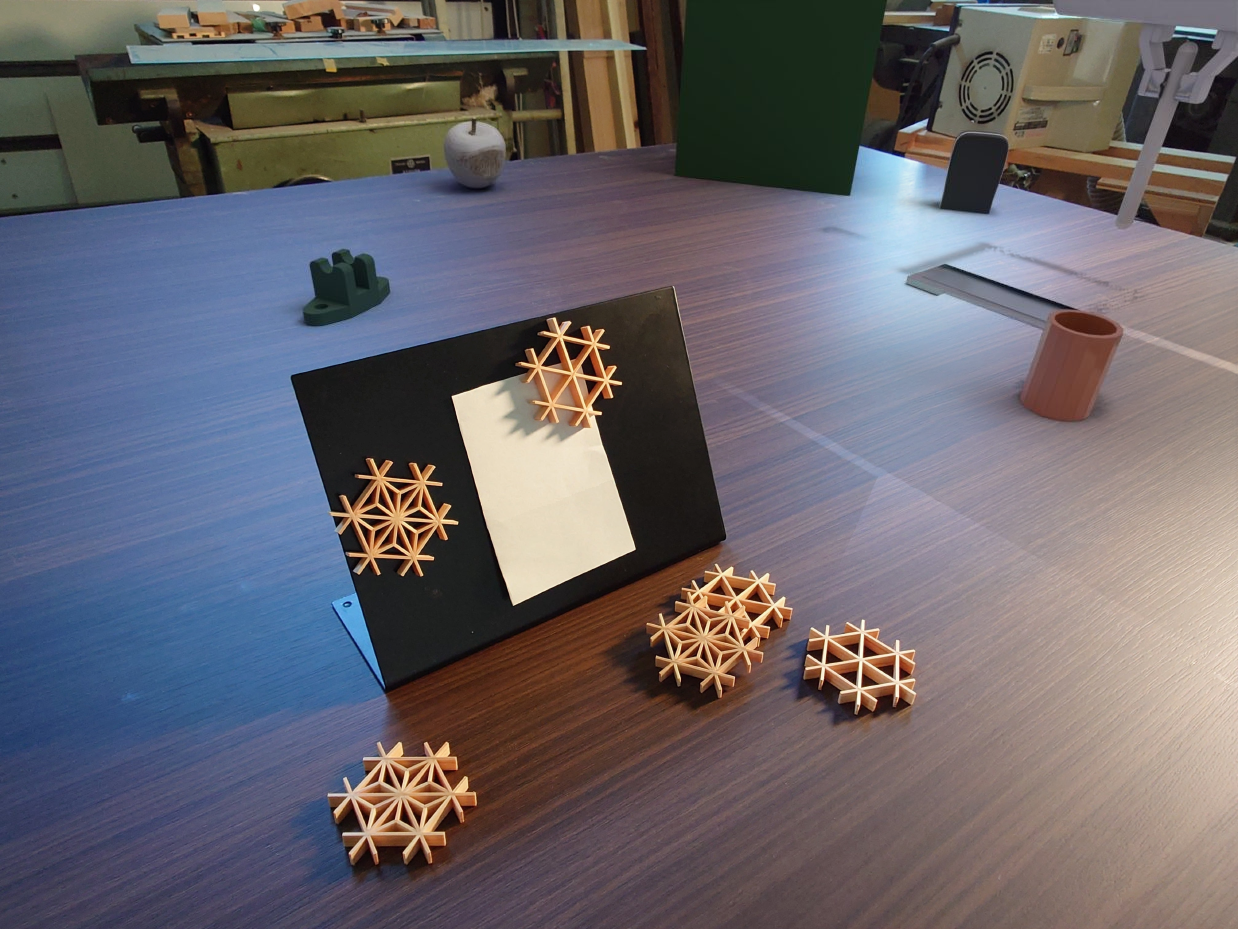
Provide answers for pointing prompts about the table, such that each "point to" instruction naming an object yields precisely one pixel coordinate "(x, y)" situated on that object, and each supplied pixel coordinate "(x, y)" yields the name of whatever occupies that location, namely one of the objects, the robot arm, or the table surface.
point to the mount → (343, 288)
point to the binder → (776, 91)
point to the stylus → (1155, 135)
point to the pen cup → (1070, 364)
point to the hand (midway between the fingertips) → (1169, 98)
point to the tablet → (987, 294)
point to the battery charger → (974, 171)
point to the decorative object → (475, 153)
